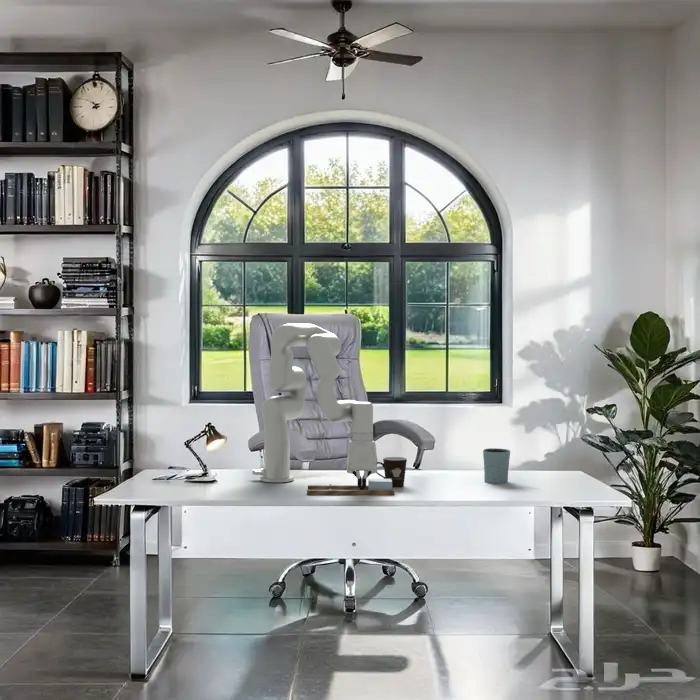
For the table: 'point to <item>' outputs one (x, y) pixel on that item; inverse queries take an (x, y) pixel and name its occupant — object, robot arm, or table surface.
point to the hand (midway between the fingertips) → (361, 489)
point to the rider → (380, 484)
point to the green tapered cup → (496, 465)
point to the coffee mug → (394, 470)
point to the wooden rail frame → (345, 490)
